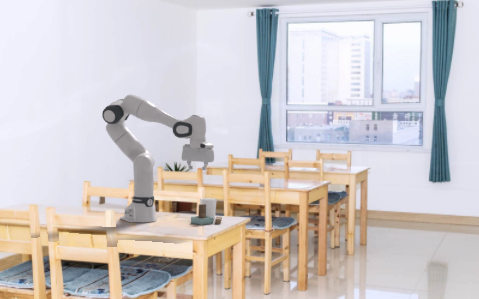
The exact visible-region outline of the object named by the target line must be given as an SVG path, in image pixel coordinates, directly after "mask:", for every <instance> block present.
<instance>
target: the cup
mask: <svg viewBox="0 0 479 299" xmlns="http://www.w3.org/2000/svg"><path fill="white" fill-rule="evenodd" d="M190 223H191V224H193V225H199V226H205V225H212V223H213V224H214V220H213V217H209V216H206V218H203V219H201V218H198V215H196V216H195V215H194V216H191V217H190Z"/></svg>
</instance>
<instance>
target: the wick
mask: <svg viewBox="0 0 479 299" xmlns="http://www.w3.org/2000/svg"><path fill="white" fill-rule="evenodd" d="M222 219H223V217H222V216H215V219H214V224H215V225H221V223H222V222H221V221H222Z"/></svg>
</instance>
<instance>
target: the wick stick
mask: <svg viewBox="0 0 479 299" xmlns="http://www.w3.org/2000/svg"><path fill="white" fill-rule="evenodd" d="M197 216H198V218H201V219H203V218H206V204H200V203H199V204H198V214H197Z"/></svg>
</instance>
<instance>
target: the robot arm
mask: <svg viewBox="0 0 479 299" xmlns="http://www.w3.org/2000/svg"><path fill="white" fill-rule="evenodd" d="M130 115H131V116H133V117H136V118H137V119H138V120H139V119H140V120H141V121H145V122H148V123H158V124H161V125H164V126H166V127H169V128H170V129H172V134H173V136H174V137H176V138H179V139H189V144H187V143H186V144H183V146H182V151H181V160H182V161H186V163H187V166H188V170H193V165H192V162H198V163H199V162H200V163H203V166H202V167H201V170H202V171H207V167H208V166H209V163H213V162H214V160H215V151H214V144H213V143H210V142H209V141H207V137H206V133H207V123H206V118H205V117H204V116H202V115H198V114H192V115H190V116H189V117H187V118H185V119H182V120H181V119H179V118H176V117H175V116H172V115H171V114H168V113H166V112H165V111H163V110H162V109H160V108H159V107H157V106H156V105H155V104H153V102H151V101H149V100H147V99H145V98H143V97H140V96H137V95H134V94H127V95H126V96H125V97H124V98H121V99H118V100H115V101H113V102H111V103H110V104H109V105H107V106H106V107H105V108H104V109H103V111H102V116H101V117H102V119H103V121H105V123H107V124H106V125H105V130H106V132H107V134H108V136H109V137H110V138H111V140H112V142H113V143H115V145H116V146H117V147H118V148H119V150H120V151H121V152H122V153H123V154H124V155H125V157H127V159H129V160H130V161H131V162H132V163H133V167H132V168H133V184H134V185H133V187H134V188H133V196H131V203H130V204H129V205H128V206H126V208H124V214H123V215H122V216H120V218H119V219H120V220H123V221H126V222H128V223H151V222H156V221H157V220H158V217H157V215H156V214H157V213H156V205H155V204H154V203H155V195H154V193H155V192H154V190H155V189H154V188H155V187H154V185H155V183H154V166H155V162H156V161H155V158H154V156H153V155H152V154H151V152H150V151H148V150H149V149H147V148H146V147H145V146H144V145H143V144H142V143H141V141H139V140H138V138H137V137H136V136H135V135H134V133H133V132H132V131H131V129H129V128H128V127H127V126H126V123H125V121H127V120H128V119H129V117H130Z"/></svg>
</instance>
